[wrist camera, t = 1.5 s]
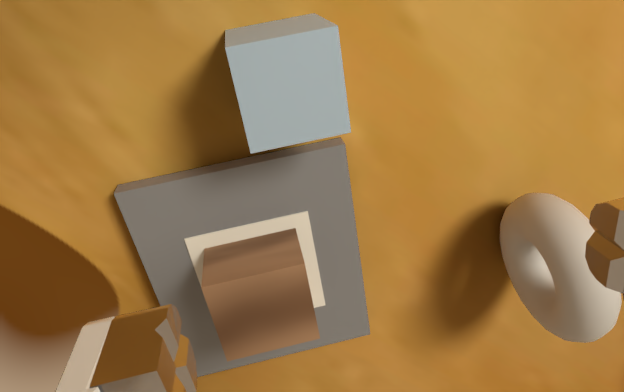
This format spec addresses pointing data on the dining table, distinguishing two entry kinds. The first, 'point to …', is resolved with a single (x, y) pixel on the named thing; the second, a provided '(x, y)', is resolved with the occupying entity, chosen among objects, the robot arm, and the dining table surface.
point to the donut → (556, 268)
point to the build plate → (247, 224)
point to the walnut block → (259, 294)
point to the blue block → (288, 81)
